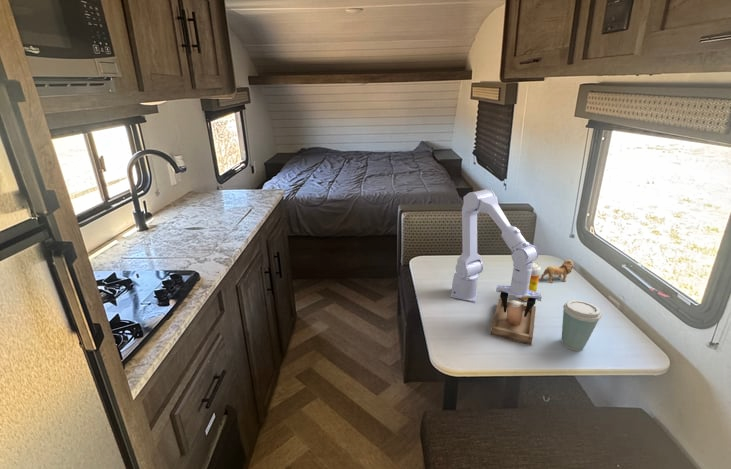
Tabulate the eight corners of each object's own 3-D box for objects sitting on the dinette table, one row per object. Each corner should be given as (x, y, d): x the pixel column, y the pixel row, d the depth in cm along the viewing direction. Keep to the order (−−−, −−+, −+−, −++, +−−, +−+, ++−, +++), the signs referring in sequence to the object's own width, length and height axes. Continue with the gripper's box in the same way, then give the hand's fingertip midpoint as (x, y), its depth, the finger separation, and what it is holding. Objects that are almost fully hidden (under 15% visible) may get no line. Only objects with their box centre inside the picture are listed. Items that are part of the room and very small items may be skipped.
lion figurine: (564, 275, 166) (568, 257, 163) (573, 280, 162) (578, 262, 158) (536, 279, 163) (539, 261, 160) (544, 285, 158) (548, 266, 155)
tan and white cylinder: (505, 323, 132) (507, 306, 130) (507, 315, 136) (509, 299, 134) (520, 326, 130) (522, 309, 127) (522, 319, 134) (524, 301, 132)
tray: (490, 334, 128) (491, 327, 127) (498, 305, 145) (499, 298, 144) (531, 345, 123) (532, 337, 122) (534, 313, 139) (535, 306, 138)
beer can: (536, 303, 146) (542, 268, 140) (519, 301, 147) (525, 267, 141) (532, 294, 151) (539, 261, 146) (517, 293, 153) (522, 260, 147)
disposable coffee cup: (550, 334, 128) (558, 296, 122) (582, 334, 128) (591, 296, 122) (564, 355, 118) (574, 315, 112) (599, 355, 118) (610, 315, 112)
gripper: (496, 280, 126) (492, 314, 132) (543, 289, 121) (536, 324, 126) (499, 271, 132) (494, 304, 138) (544, 279, 127) (537, 313, 132)
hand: (515, 313), depth 132 cm, fingers open, 6 cm apart
